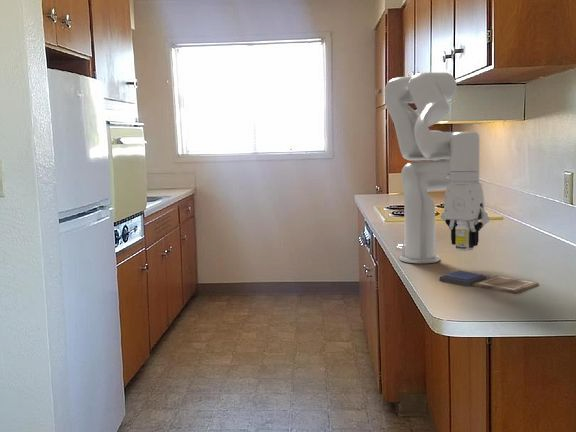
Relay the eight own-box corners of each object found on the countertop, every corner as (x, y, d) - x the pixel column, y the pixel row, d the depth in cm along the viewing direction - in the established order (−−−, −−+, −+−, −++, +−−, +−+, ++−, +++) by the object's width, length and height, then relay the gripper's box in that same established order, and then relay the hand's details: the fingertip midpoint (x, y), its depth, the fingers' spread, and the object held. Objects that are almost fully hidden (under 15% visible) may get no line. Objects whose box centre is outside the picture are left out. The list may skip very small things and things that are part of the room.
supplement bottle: (470, 247, 168) (470, 217, 167) (476, 250, 163) (476, 219, 162) (453, 248, 168) (453, 218, 167) (458, 251, 163) (458, 220, 162)
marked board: (473, 285, 162) (473, 283, 162) (496, 277, 170) (496, 275, 169) (515, 293, 153) (515, 291, 153) (538, 285, 161) (538, 282, 160)
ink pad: (439, 280, 168) (439, 275, 168) (458, 275, 174) (458, 269, 173) (468, 286, 161) (468, 280, 161) (486, 280, 167) (486, 274, 167)
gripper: (429, 178, 167) (430, 243, 169) (485, 179, 155) (485, 250, 157) (445, 176, 172) (445, 240, 174) (501, 177, 159) (500, 246, 162)
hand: (464, 244), depth 165 cm, fingers closed on supplement bottle, 4 cm apart
